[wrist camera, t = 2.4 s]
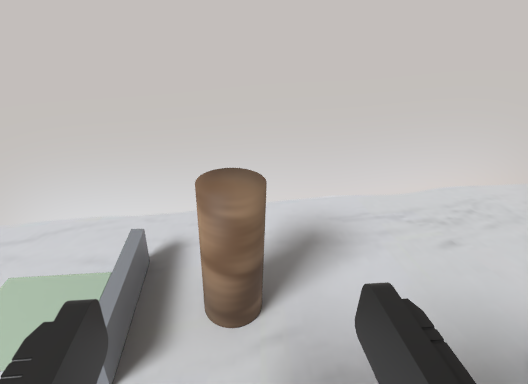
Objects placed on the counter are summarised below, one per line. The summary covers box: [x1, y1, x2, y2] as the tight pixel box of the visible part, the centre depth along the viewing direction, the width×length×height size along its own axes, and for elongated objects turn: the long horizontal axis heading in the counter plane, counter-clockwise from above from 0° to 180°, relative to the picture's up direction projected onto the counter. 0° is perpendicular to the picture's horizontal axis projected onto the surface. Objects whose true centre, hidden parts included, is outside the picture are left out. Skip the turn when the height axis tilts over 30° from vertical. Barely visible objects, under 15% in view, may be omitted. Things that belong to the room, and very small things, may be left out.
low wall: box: [97, 229, 150, 384], centre depth 26 cm, size 1×13×4 cm, turn 7°
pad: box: [0, 272, 112, 371], centre depth 26 cm, size 9×9×1 cm
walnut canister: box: [195, 168, 266, 328], centre depth 25 cm, size 5×5×12 cm
